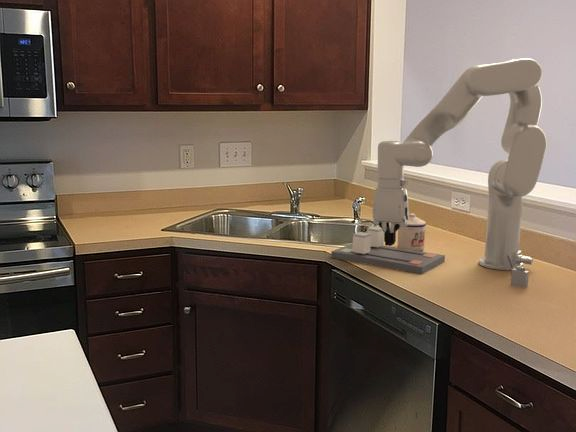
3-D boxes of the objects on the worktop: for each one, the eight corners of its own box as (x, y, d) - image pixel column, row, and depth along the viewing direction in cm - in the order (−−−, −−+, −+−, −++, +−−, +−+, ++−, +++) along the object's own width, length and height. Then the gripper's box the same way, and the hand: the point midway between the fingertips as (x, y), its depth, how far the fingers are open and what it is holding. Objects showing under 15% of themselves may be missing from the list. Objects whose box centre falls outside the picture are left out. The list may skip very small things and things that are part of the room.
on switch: (383, 245, 209) (384, 228, 208) (377, 247, 206) (378, 230, 204) (372, 243, 211) (372, 226, 210) (366, 245, 208) (366, 228, 207)
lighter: (527, 286, 175) (530, 257, 174) (525, 288, 174) (527, 259, 172) (502, 281, 180) (504, 253, 178) (499, 282, 178) (501, 254, 177)
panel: (444, 261, 199) (445, 254, 199) (422, 274, 186) (422, 266, 185) (357, 247, 216) (357, 240, 216) (331, 257, 202) (331, 250, 202)
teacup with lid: (414, 253, 209) (415, 217, 207) (390, 248, 215) (392, 213, 213) (435, 247, 217) (437, 213, 215) (412, 242, 223) (413, 209, 221)
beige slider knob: (370, 251, 200) (371, 233, 199) (364, 254, 197) (364, 235, 196) (358, 249, 203) (359, 231, 202) (352, 252, 199) (353, 234, 198)
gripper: (419, 183, 190) (418, 245, 193) (373, 180, 198) (373, 239, 202) (408, 187, 184) (407, 250, 187) (361, 183, 192) (361, 244, 196)
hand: (389, 244), depth 195 cm, fingers closed
